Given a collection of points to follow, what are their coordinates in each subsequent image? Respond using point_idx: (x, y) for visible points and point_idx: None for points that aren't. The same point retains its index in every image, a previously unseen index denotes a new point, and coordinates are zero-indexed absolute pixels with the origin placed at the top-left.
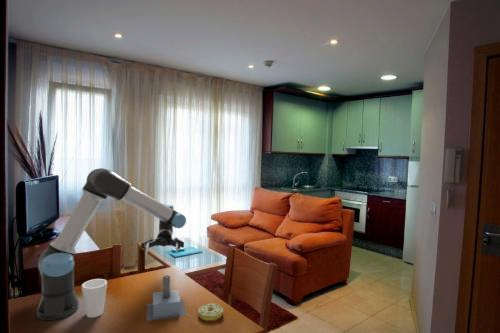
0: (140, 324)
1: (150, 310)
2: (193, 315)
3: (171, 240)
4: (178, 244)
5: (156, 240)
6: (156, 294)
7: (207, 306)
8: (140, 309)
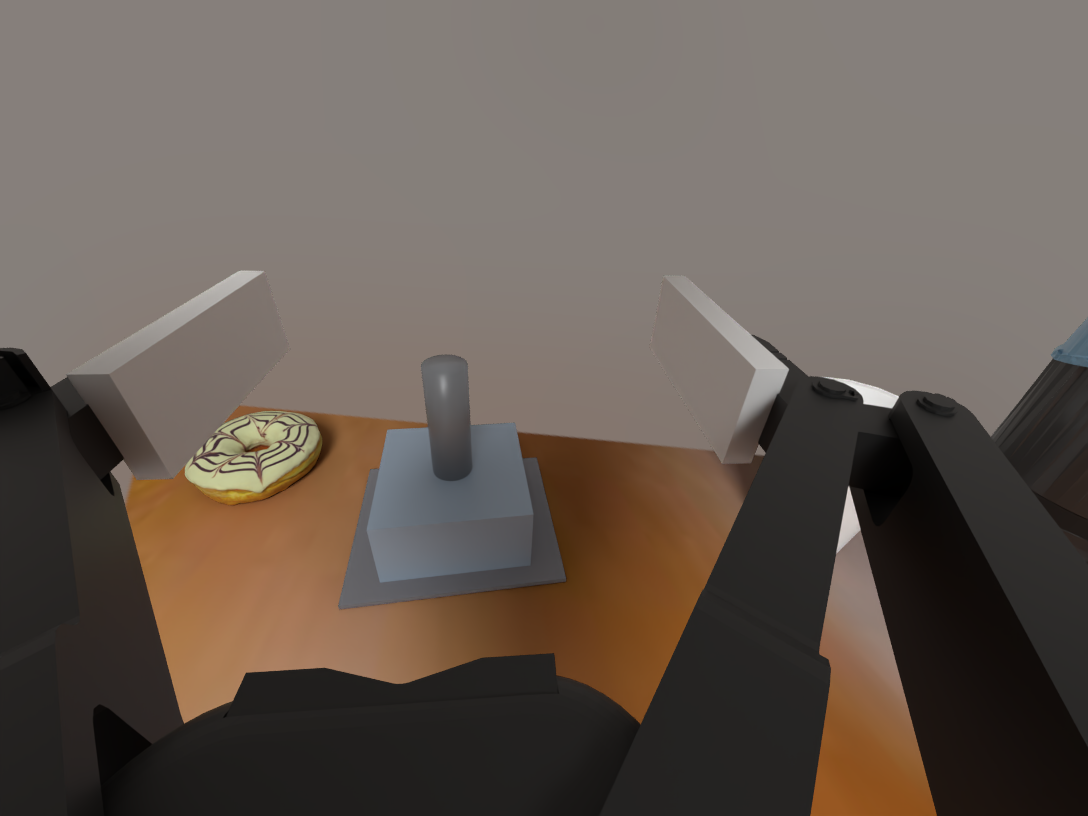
0: (555, 451)
1: (534, 518)
2: (337, 475)
3: (33, 610)
4: (87, 393)
5: (709, 593)
6: (509, 495)
7: (259, 451)
8: (588, 543)
